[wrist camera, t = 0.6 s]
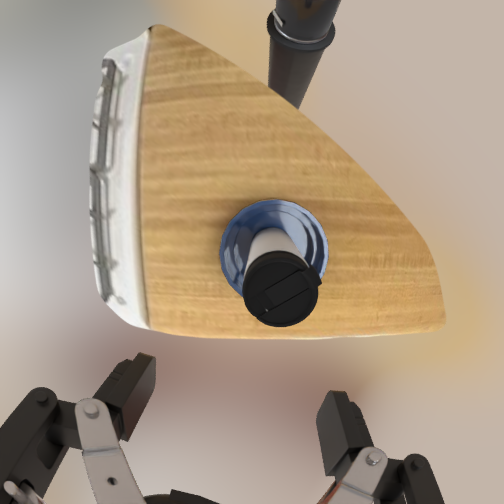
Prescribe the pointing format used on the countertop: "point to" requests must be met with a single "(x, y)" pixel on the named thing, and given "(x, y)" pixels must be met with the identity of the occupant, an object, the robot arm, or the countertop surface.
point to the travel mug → (278, 280)
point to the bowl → (263, 216)
